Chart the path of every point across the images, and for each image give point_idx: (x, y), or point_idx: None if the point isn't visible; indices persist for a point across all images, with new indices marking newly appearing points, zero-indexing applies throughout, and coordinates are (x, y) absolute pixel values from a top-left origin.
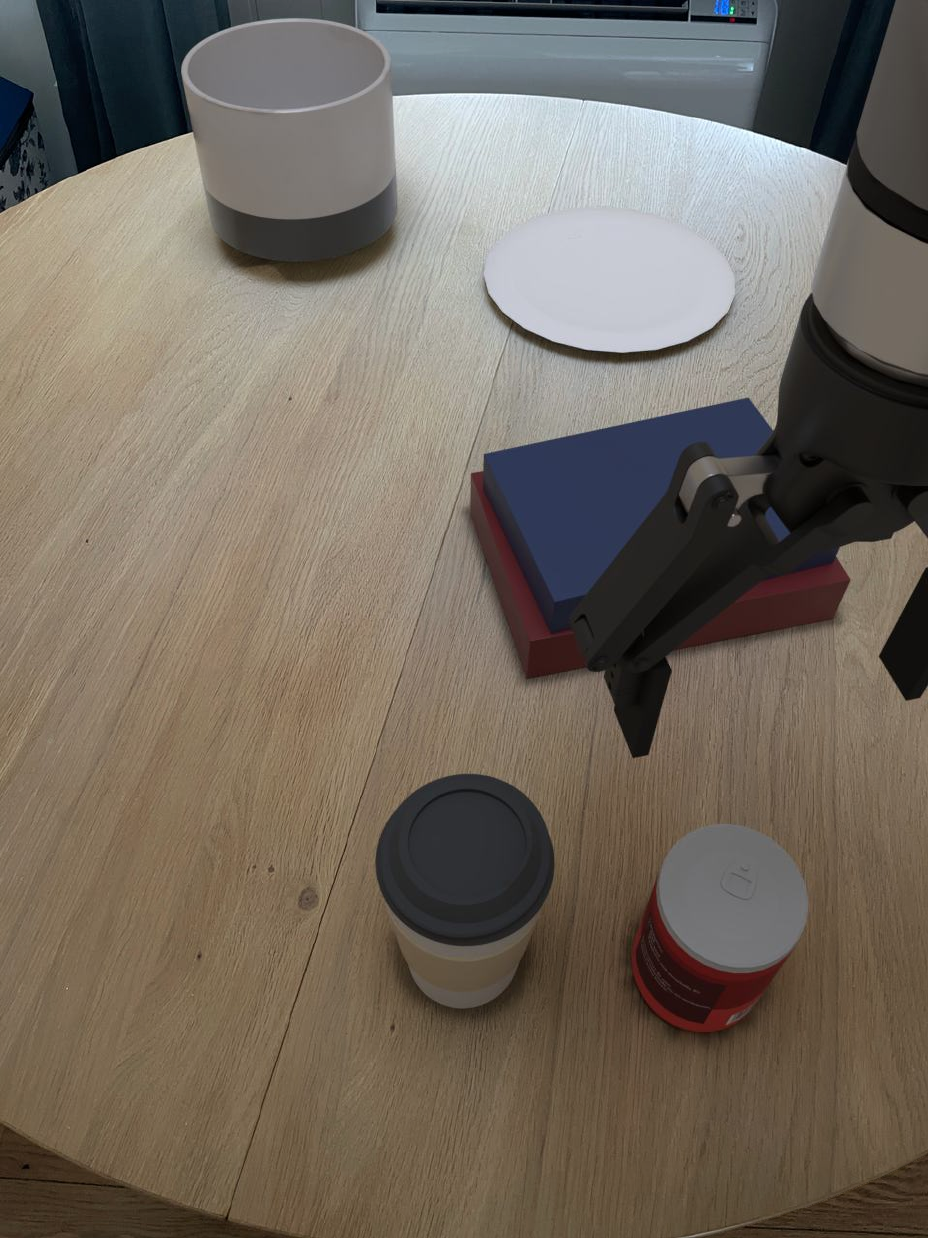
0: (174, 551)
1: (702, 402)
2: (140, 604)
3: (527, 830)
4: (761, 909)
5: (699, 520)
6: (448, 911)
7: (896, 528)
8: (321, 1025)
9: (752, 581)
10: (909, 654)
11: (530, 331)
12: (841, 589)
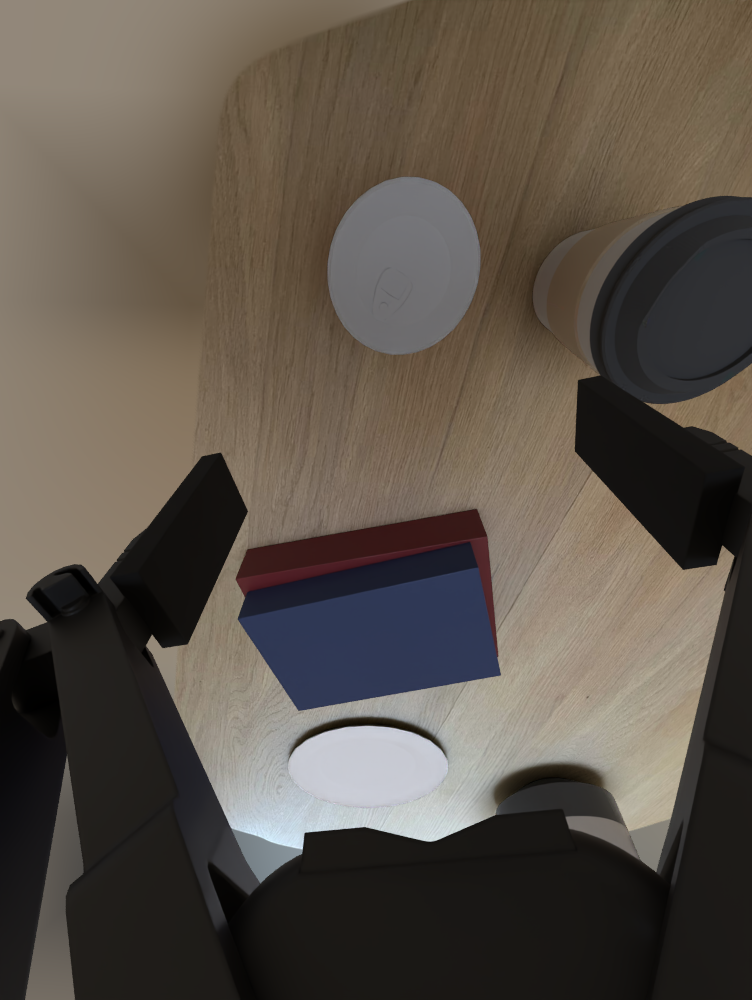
0: (696, 601)
1: None
2: None
3: (643, 327)
4: (376, 255)
5: None
6: None
7: (301, 906)
8: None
9: (742, 707)
10: (215, 510)
11: (425, 738)
12: (242, 571)
